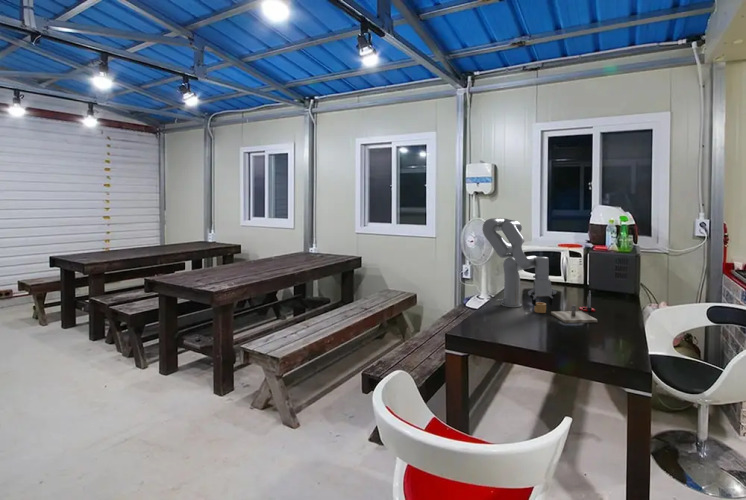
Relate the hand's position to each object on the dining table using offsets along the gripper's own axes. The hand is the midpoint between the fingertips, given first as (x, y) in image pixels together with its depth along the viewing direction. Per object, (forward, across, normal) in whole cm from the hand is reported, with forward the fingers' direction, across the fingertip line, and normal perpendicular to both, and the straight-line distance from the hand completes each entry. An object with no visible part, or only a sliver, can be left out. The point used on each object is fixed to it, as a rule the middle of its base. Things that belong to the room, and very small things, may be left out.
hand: (542, 305), depth 256 cm
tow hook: (+5, +29, +3) cm, 30 cm away
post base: (+5, +12, -14) cm, 19 cm away
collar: (+4, -1, +1) cm, 4 cm away
